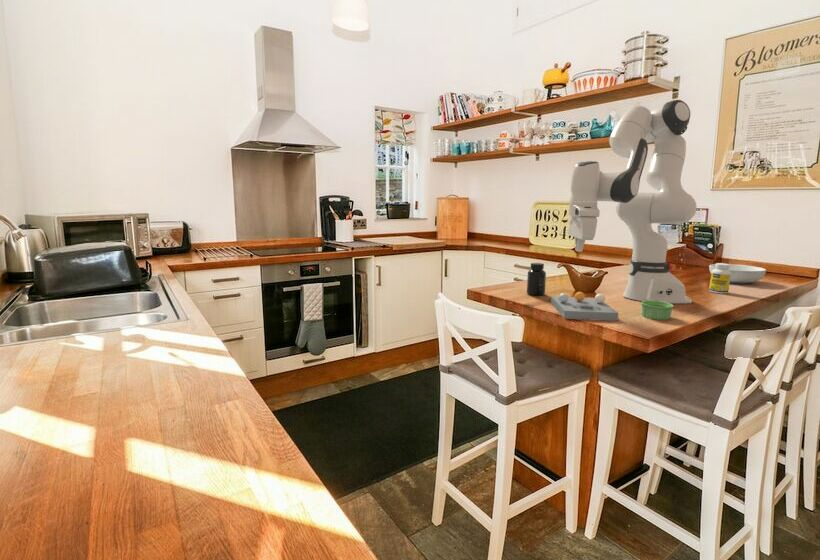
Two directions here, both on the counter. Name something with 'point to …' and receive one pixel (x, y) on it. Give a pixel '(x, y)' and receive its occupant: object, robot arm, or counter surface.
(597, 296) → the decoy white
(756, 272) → the serving bowl
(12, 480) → the counter surface
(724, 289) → the pill bottle
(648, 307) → the ramekin
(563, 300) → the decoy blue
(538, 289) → the supplement bottle
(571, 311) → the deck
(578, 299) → the ball
